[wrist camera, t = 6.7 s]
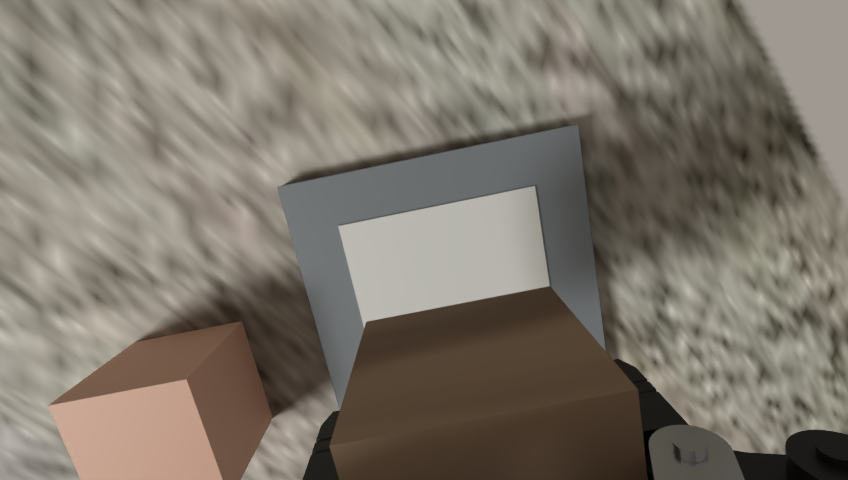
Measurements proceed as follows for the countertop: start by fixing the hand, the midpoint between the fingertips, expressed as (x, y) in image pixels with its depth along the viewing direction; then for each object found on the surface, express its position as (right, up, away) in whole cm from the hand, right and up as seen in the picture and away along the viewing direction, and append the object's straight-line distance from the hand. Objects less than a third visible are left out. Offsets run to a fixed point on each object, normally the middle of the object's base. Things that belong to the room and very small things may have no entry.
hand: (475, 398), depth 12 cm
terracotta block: (-11, -2, +9) cm, 15 cm away
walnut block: (0, 0, +1) cm, 1 cm away
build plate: (0, +2, +8) cm, 8 cm away
